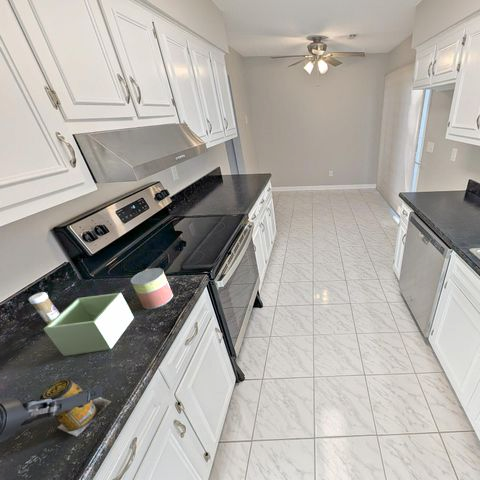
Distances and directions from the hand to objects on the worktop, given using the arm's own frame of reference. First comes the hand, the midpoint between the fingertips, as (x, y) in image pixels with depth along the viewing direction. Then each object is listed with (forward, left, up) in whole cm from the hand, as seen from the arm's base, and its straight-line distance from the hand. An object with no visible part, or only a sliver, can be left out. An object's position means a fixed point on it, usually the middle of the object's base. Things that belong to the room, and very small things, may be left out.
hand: (86, 393), depth 66 cm
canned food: (-1, +42, -4) cm, 43 cm away
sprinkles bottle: (-35, +35, -4) cm, 50 cm away
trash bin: (-13, +25, -3) cm, 29 cm away
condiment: (+1, -4, -4) cm, 5 cm away
